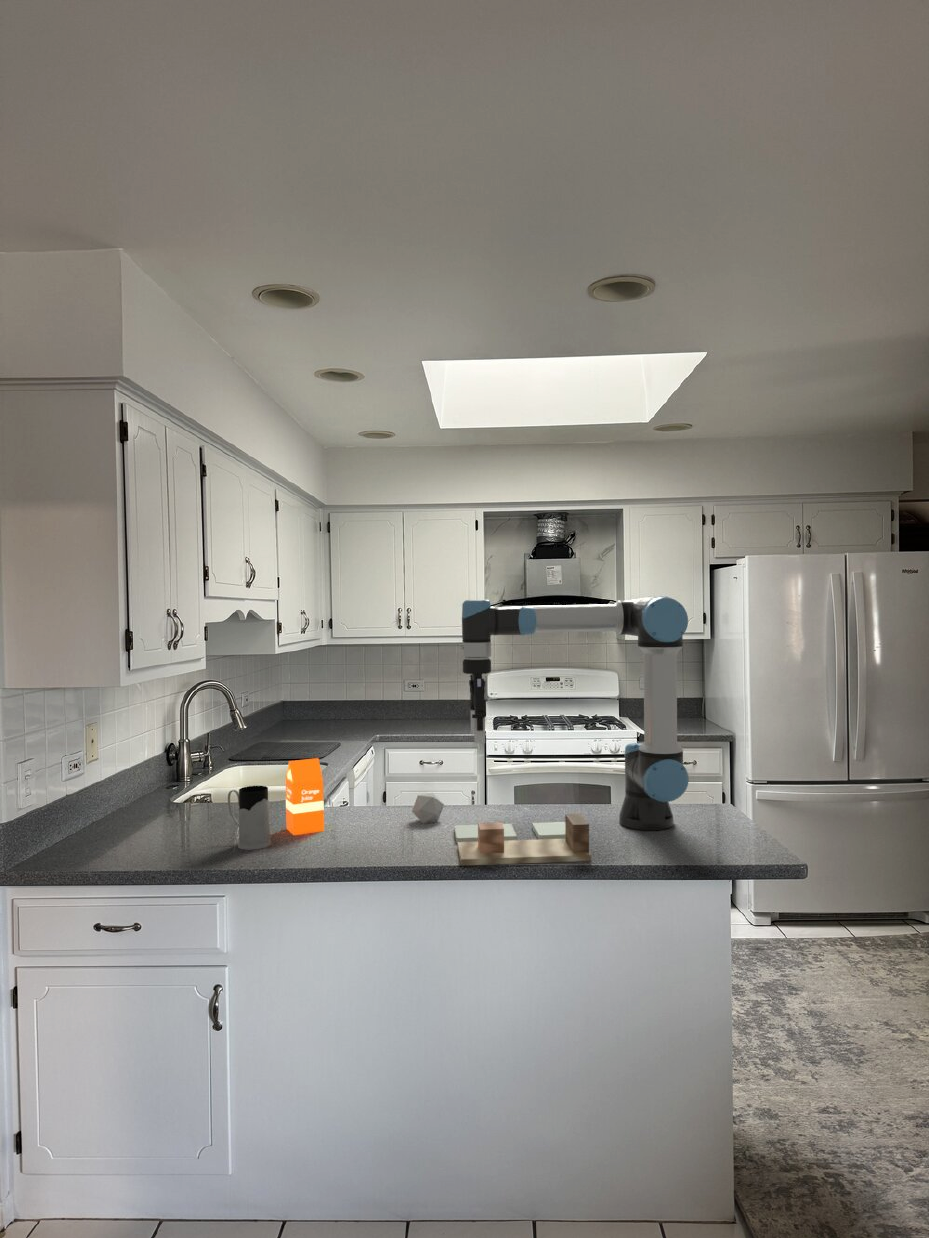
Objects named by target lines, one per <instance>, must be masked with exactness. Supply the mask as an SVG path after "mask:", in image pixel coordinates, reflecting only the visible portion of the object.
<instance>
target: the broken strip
mask: <svg viewBox="0 0 929 1238" xmlns="http://www.w3.org/2000/svg"><path fill="white" fill-rule="evenodd" d="M502 825H503V828H504V841H508V840H518V839H517V838H518V837H517V833H516V832H515V829H514V828H513V825H512V823H502ZM453 826H454V827H453V831H454V837H455V841H456V844H457V845H458V842H478V824H462V825H461V824H458V825H457V824H456V825H453ZM531 828H532V830H533V832H534V834H535V836H536V839H566V836H565V821H554V822H553V821H552V822H551V821H550V822H546V821H545V822H532V823H531Z"/></svg>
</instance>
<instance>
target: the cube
mask: <svg viewBox="0 0 929 1238" xmlns="http://www.w3.org/2000/svg"><path fill="white" fill-rule="evenodd" d="M502 824H503V823H502V822H501V821H499V822H497V821H496V822H493V821H492V822H477V825H478V847H479V851H480V854H482V853H504V828H503V825H502Z"/></svg>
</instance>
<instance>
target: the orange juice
mask: <svg viewBox="0 0 929 1238" xmlns="http://www.w3.org/2000/svg"><path fill="white" fill-rule="evenodd" d="M324 803H325V801H324V779H323V773H322V769H321V764H320V758H318V757H316V758H308V759H307V758H306V759H299V760H288V766H287V771H286V777H285V812H286V813H285V814H286V816H285V817H286V819H285V820H286V824H285V825H286V830H287V831H289V833H290V834H292V835H293V836H298V835H304V834H305V835H306V834H312V833H318V832H325V819H324V818H325V816H324V815H325V813H324V811H325V810H324V809H325V808H324V807H325V804H324Z"/></svg>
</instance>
